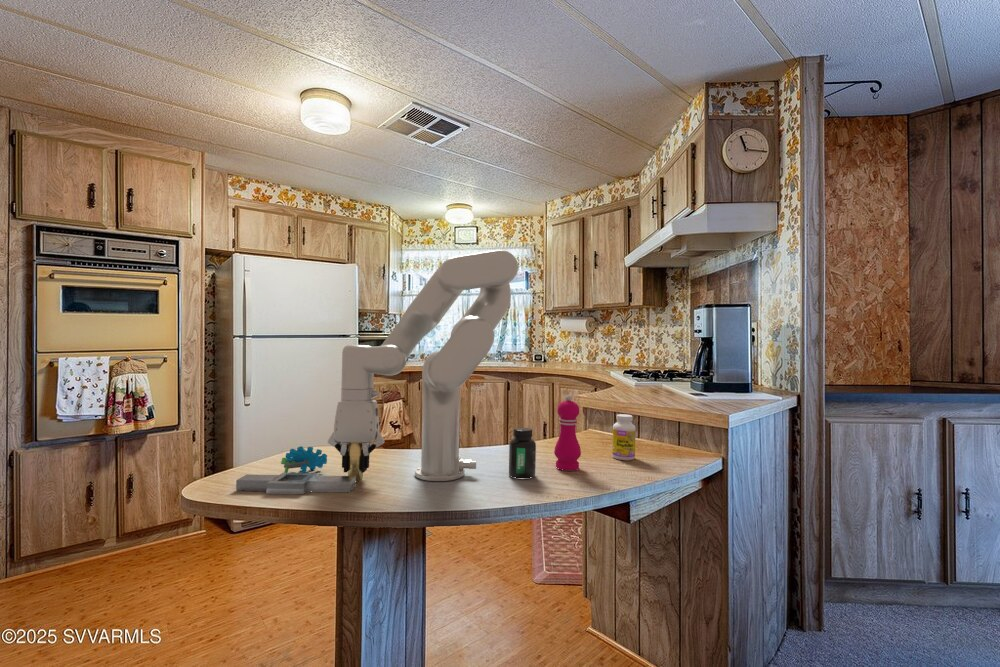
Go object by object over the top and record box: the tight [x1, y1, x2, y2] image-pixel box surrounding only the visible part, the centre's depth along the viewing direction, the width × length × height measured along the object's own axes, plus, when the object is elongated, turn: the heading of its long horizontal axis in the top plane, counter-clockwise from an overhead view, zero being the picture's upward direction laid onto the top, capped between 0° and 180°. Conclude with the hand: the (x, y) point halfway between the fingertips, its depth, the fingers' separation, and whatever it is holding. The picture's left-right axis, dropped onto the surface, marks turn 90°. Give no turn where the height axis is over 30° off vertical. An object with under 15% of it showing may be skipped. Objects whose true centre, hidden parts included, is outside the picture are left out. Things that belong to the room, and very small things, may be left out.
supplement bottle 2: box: [611, 413, 637, 461], centre depth 141 cm, size 7×7×13 cm
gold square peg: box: [347, 443, 364, 482], centre depth 114 cm, size 4×4×10 cm
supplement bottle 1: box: [508, 427, 537, 478], centre depth 120 cm, size 7×7×12 cm
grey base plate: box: [235, 472, 356, 495], centre depth 106 cm, size 25×8×2 cm, turn 91°
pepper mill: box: [553, 394, 582, 471], centre depth 129 cm, size 7×7×20 cm
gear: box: [280, 445, 328, 473], centre depth 117 cm, size 11×6×10 cm
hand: (355, 470), depth 114 cm, fingers closed on gold square peg, 3 cm apart
